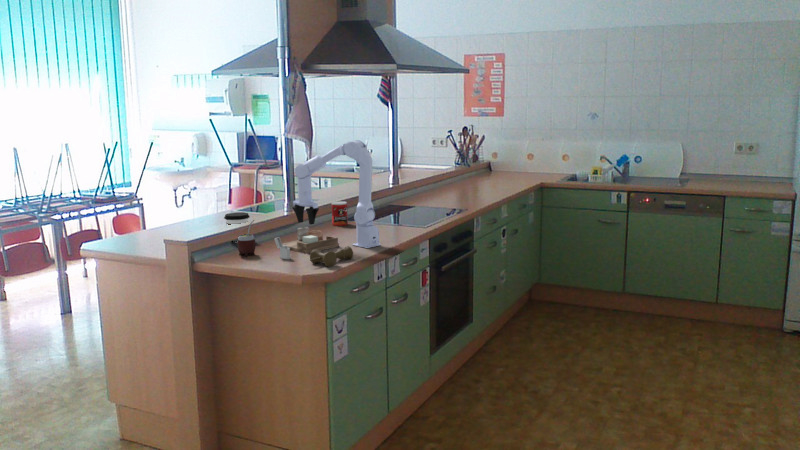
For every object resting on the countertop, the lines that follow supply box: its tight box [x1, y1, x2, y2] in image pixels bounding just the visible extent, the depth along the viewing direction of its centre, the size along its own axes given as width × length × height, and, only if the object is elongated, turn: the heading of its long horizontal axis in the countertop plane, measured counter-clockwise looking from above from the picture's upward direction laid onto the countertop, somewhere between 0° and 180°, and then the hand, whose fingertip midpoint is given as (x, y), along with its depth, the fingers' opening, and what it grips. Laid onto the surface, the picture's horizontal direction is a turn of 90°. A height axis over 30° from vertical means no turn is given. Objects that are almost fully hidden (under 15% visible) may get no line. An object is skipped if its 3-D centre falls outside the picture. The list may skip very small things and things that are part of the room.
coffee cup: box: [223, 211, 250, 225], centre depth 304 cm, size 11×11×12 cm
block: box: [302, 235, 318, 244], centre depth 284 cm, size 4×4×4 cm
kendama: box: [309, 246, 354, 267], centre depth 262 cm, size 6×10×20 cm
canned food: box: [331, 200, 349, 227], centre depth 340 cm, size 8×8×11 cm
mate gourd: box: [236, 219, 256, 258], centre depth 276 cm, size 8×8×15 cm
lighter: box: [273, 236, 291, 260], centre depth 271 cm, size 7×2×8 cm, turn 52°
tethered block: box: [296, 226, 324, 241], centre depth 296 cm, size 11×5×5 cm, turn 46°
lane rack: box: [281, 235, 340, 254], centre depth 291 cm, size 19×17×4 cm
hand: (306, 223), depth 299 cm, fingers open, 7 cm apart
